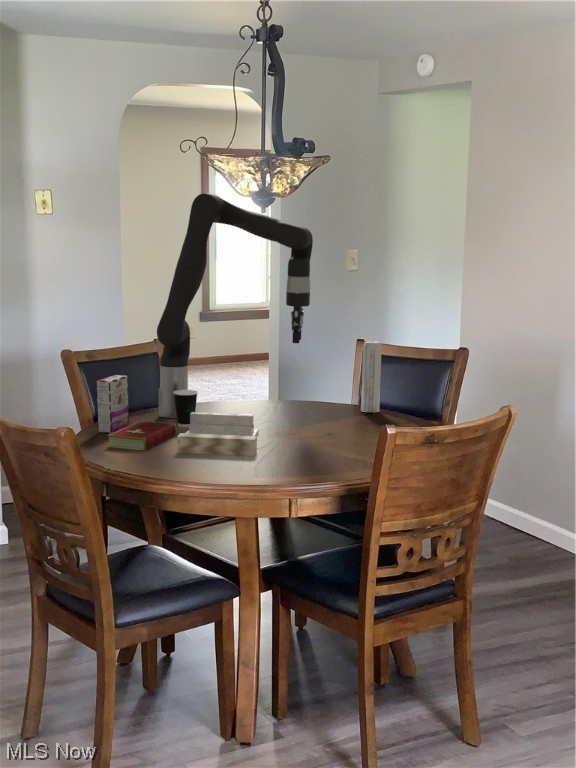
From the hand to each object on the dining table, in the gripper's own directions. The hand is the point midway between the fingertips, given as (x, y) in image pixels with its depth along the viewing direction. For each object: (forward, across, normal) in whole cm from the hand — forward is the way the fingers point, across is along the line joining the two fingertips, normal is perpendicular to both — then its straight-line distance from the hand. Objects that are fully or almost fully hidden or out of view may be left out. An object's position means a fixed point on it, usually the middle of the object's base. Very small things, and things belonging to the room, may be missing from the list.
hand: (296, 341), depth 270 cm
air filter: (+27, -24, +25) cm, 44 cm away
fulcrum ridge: (+27, +20, -21) cm, 40 cm away
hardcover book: (+28, +29, -43) cm, 59 cm away
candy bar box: (+28, +16, -56) cm, 64 cm away
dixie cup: (+28, +7, -35) cm, 45 cm away
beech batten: (+28, +39, -19) cm, 52 cm away
